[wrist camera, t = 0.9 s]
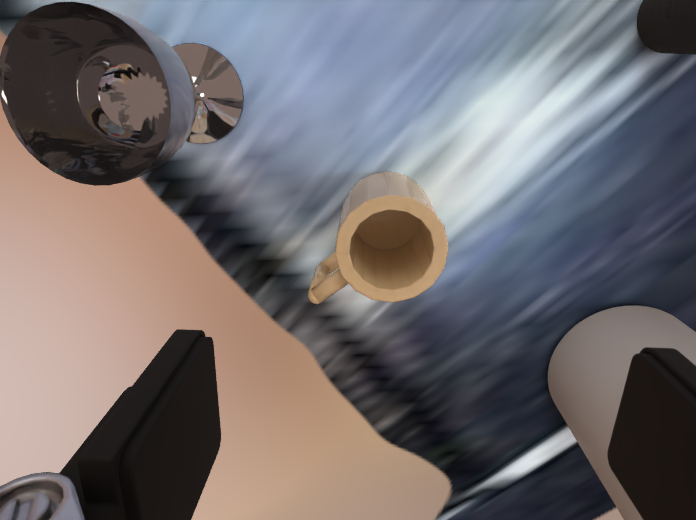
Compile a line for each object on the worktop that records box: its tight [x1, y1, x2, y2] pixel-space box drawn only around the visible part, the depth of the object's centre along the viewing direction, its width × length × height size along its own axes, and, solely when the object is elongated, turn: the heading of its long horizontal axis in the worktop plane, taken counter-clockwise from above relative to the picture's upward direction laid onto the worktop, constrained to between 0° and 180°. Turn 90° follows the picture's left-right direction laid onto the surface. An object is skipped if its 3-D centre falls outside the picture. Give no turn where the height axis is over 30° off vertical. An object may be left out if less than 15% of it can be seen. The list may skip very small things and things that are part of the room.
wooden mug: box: [308, 172, 449, 304], centre depth 35 cm, size 10×7×9 cm
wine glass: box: [0, 2, 243, 185], centre depth 29 cm, size 8×8×15 cm
